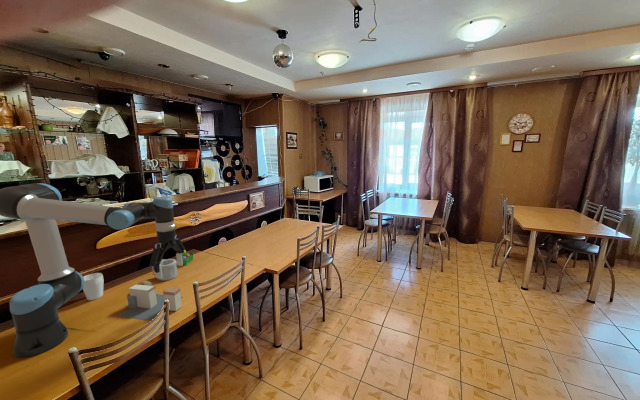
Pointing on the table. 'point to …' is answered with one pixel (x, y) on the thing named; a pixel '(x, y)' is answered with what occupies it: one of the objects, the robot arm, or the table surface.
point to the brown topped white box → (173, 298)
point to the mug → (168, 269)
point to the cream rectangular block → (142, 296)
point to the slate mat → (145, 310)
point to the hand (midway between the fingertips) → (170, 271)
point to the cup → (93, 286)
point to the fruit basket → (186, 257)
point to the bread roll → (145, 283)
